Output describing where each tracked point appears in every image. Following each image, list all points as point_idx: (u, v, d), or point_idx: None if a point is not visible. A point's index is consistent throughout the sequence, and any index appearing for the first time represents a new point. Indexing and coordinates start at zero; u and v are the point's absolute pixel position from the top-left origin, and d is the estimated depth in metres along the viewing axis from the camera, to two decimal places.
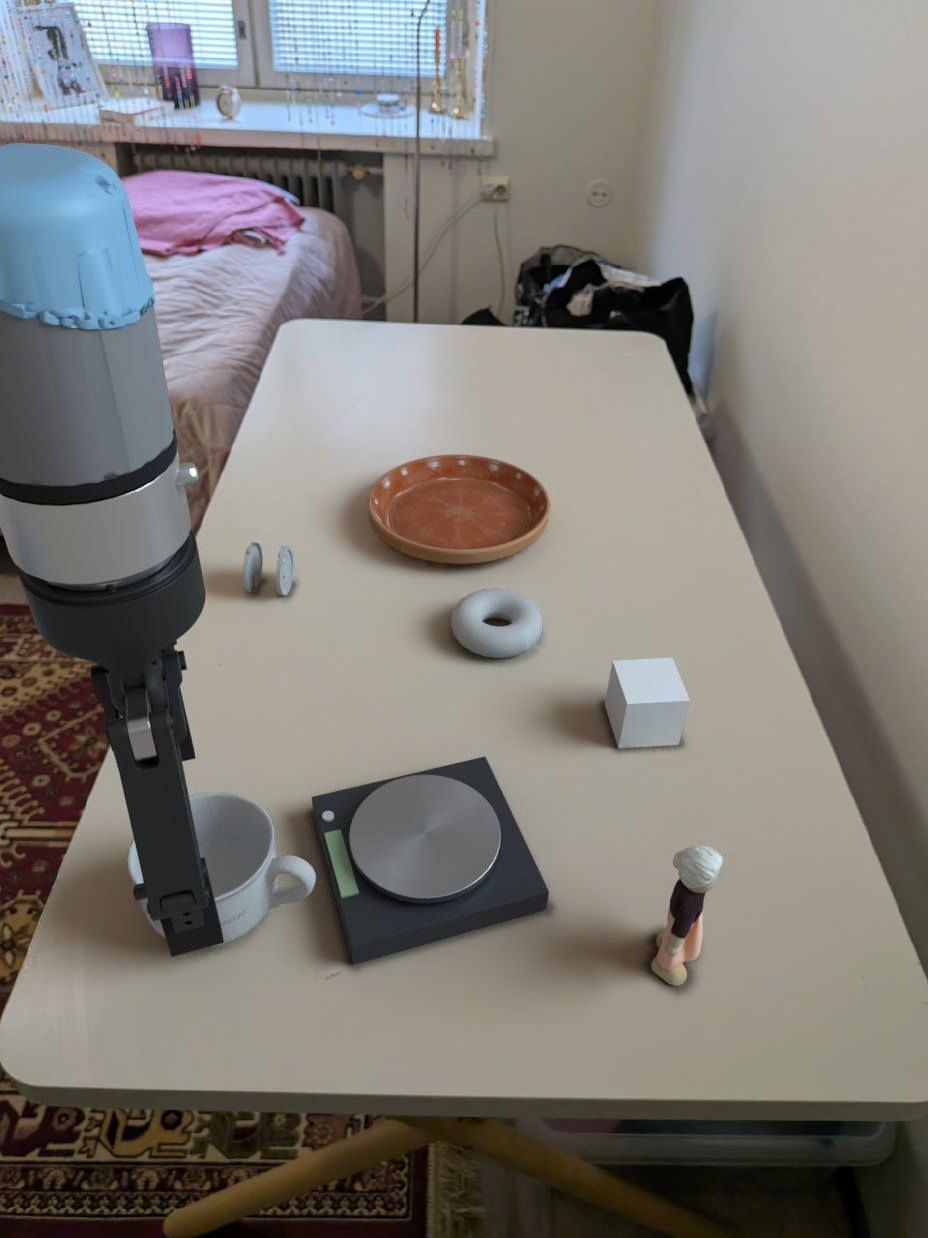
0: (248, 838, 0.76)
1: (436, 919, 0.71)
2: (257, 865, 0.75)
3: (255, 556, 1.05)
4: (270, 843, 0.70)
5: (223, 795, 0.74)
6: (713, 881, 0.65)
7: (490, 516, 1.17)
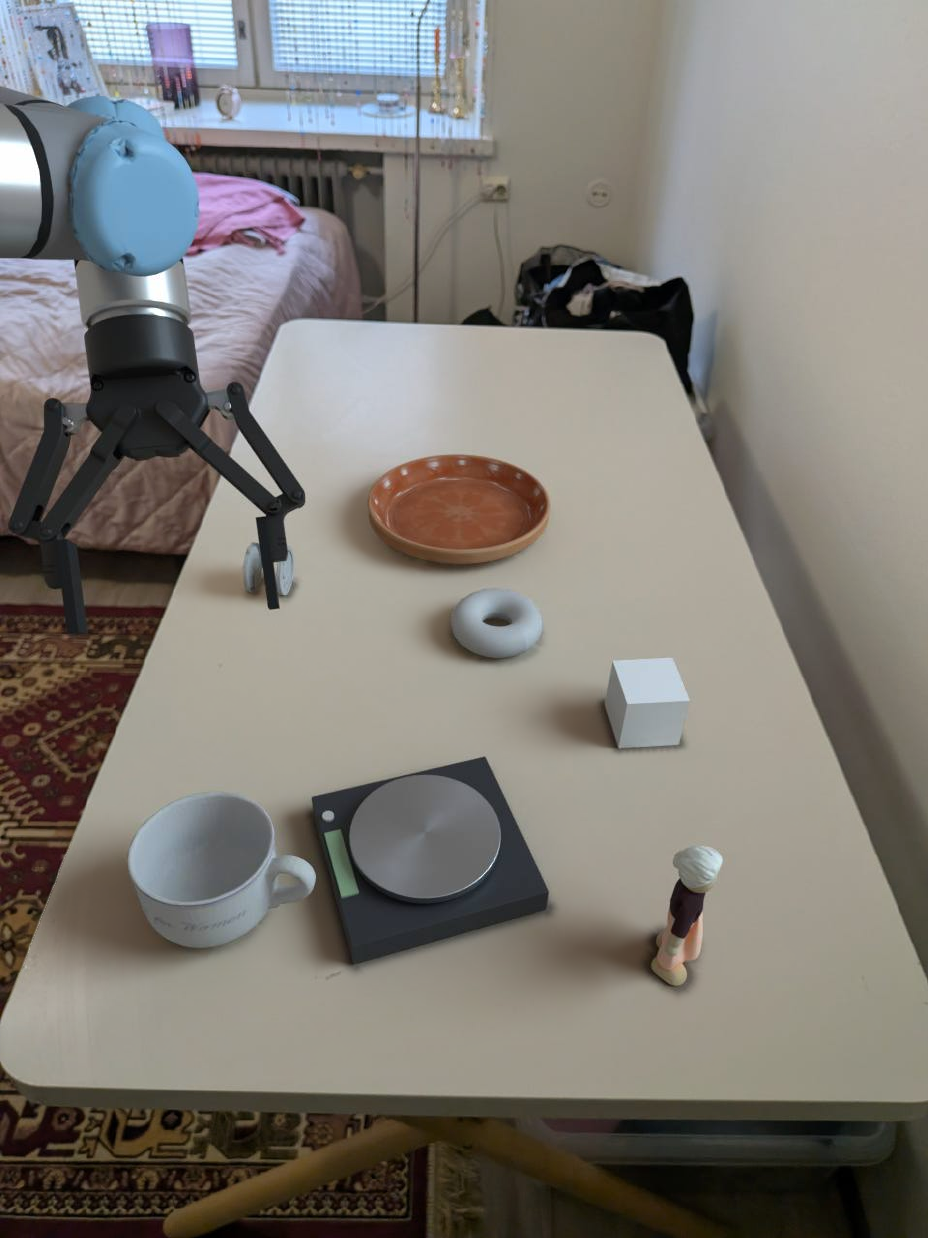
0: (248, 838, 0.76)
1: (436, 919, 0.71)
2: (257, 865, 0.75)
3: (255, 556, 1.05)
4: (270, 843, 0.70)
5: (223, 795, 0.74)
6: (713, 881, 0.65)
7: (490, 516, 1.17)
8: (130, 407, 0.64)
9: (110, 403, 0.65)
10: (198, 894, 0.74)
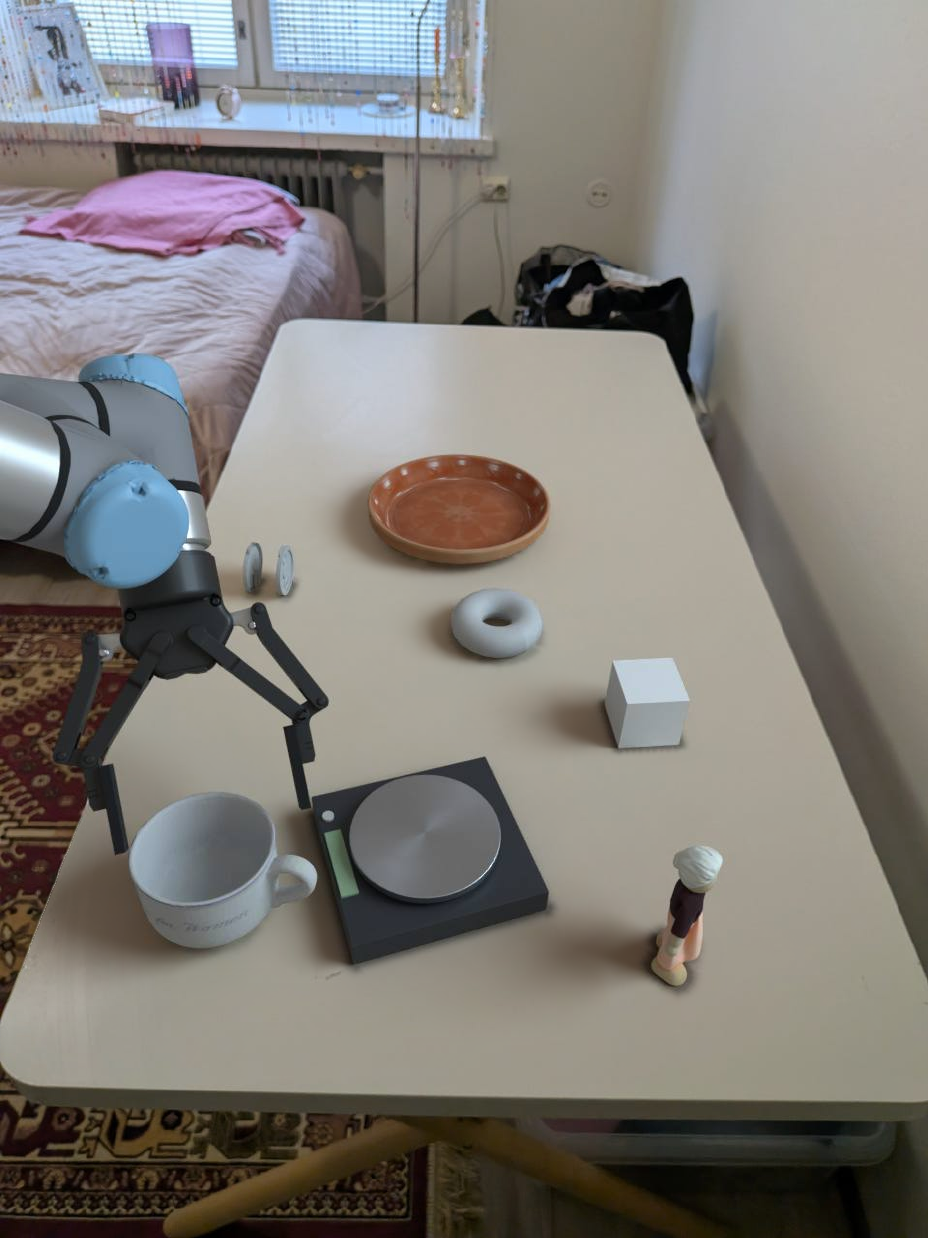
0: (248, 838, 0.76)
1: (436, 919, 0.71)
2: (257, 865, 0.75)
3: (255, 556, 1.05)
4: (271, 843, 0.70)
5: (223, 795, 0.74)
6: (713, 882, 0.65)
7: (490, 516, 1.17)
8: (164, 636, 0.69)
9: (143, 632, 0.70)
10: (199, 894, 0.74)
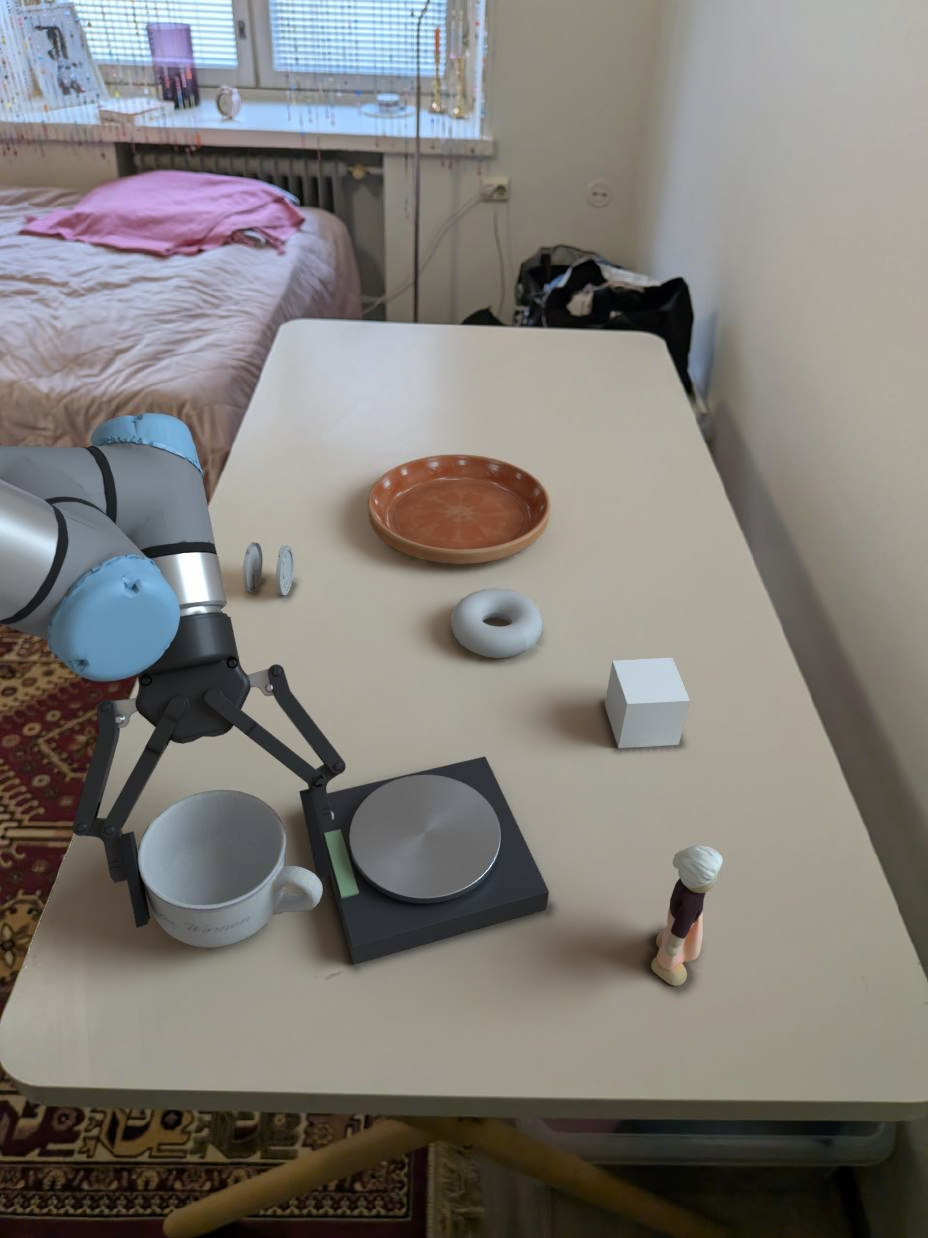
0: (260, 838, 0.75)
1: (436, 919, 0.71)
2: (266, 866, 0.75)
3: (255, 556, 1.05)
4: (281, 852, 0.69)
5: (239, 795, 0.73)
6: (713, 881, 0.65)
7: (490, 516, 1.17)
8: (180, 701, 0.68)
9: (159, 697, 0.68)
10: (204, 889, 0.74)
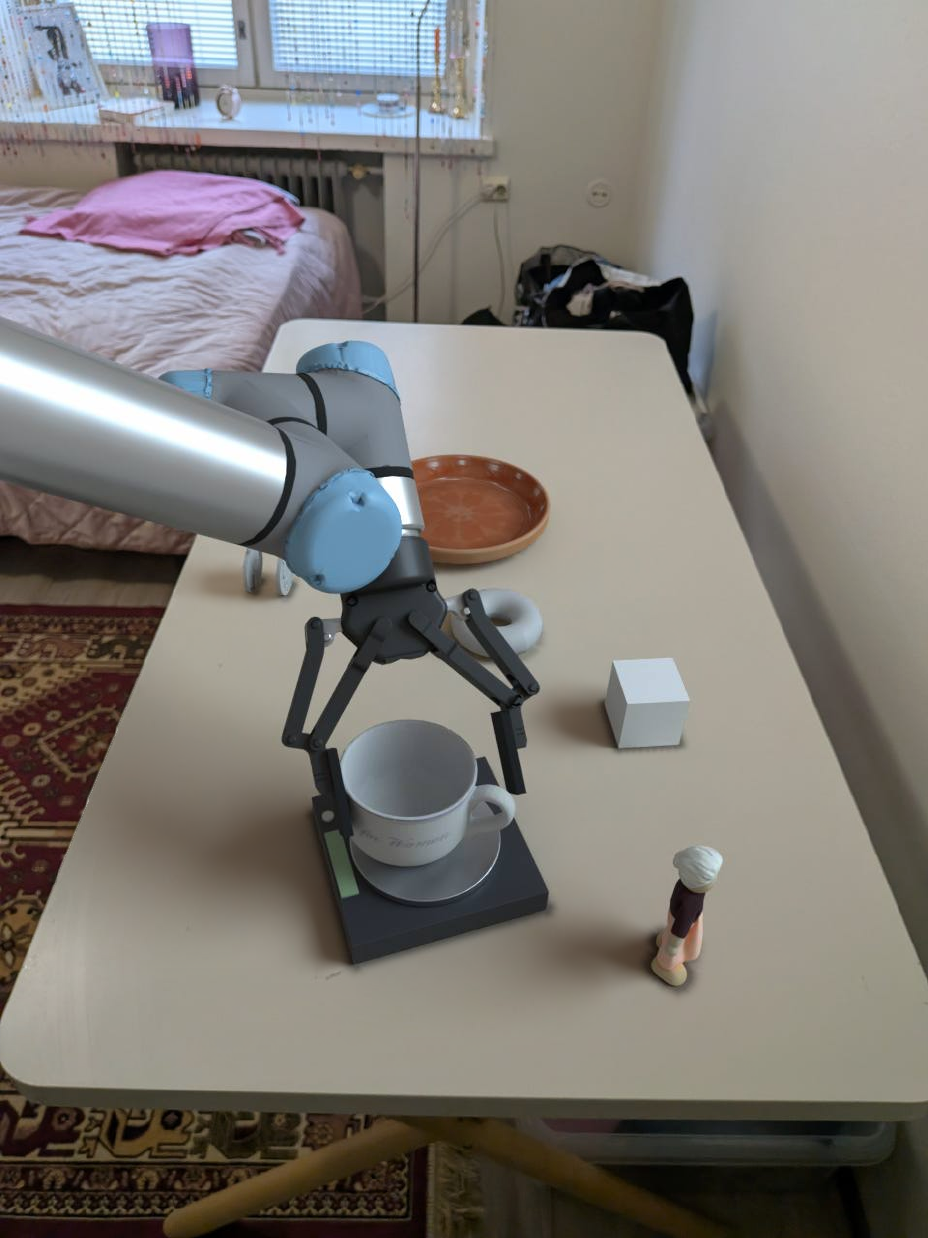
0: (441, 769, 0.77)
1: (436, 919, 0.71)
2: (447, 796, 0.77)
3: (255, 556, 1.05)
4: (474, 772, 0.72)
5: (424, 724, 0.76)
6: (713, 881, 0.65)
7: (490, 516, 1.17)
8: (387, 621, 0.70)
9: (365, 617, 0.70)
10: None
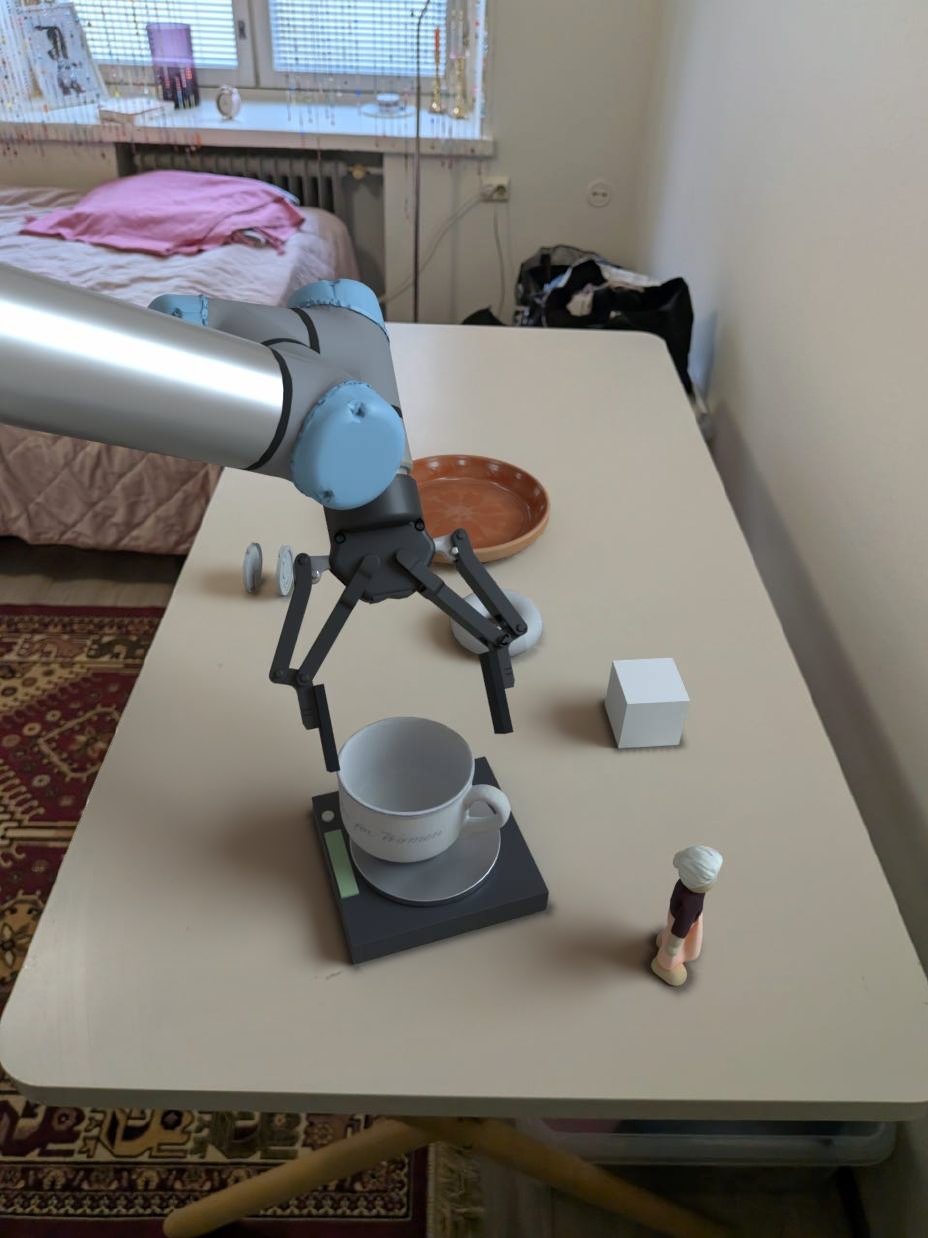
0: (442, 768, 0.78)
1: (436, 919, 0.71)
2: (447, 796, 0.77)
3: (255, 556, 1.05)
4: (470, 771, 0.71)
5: (426, 722, 0.76)
6: (713, 882, 0.65)
7: (490, 516, 1.17)
8: (374, 558, 0.70)
9: (352, 554, 0.70)
10: None
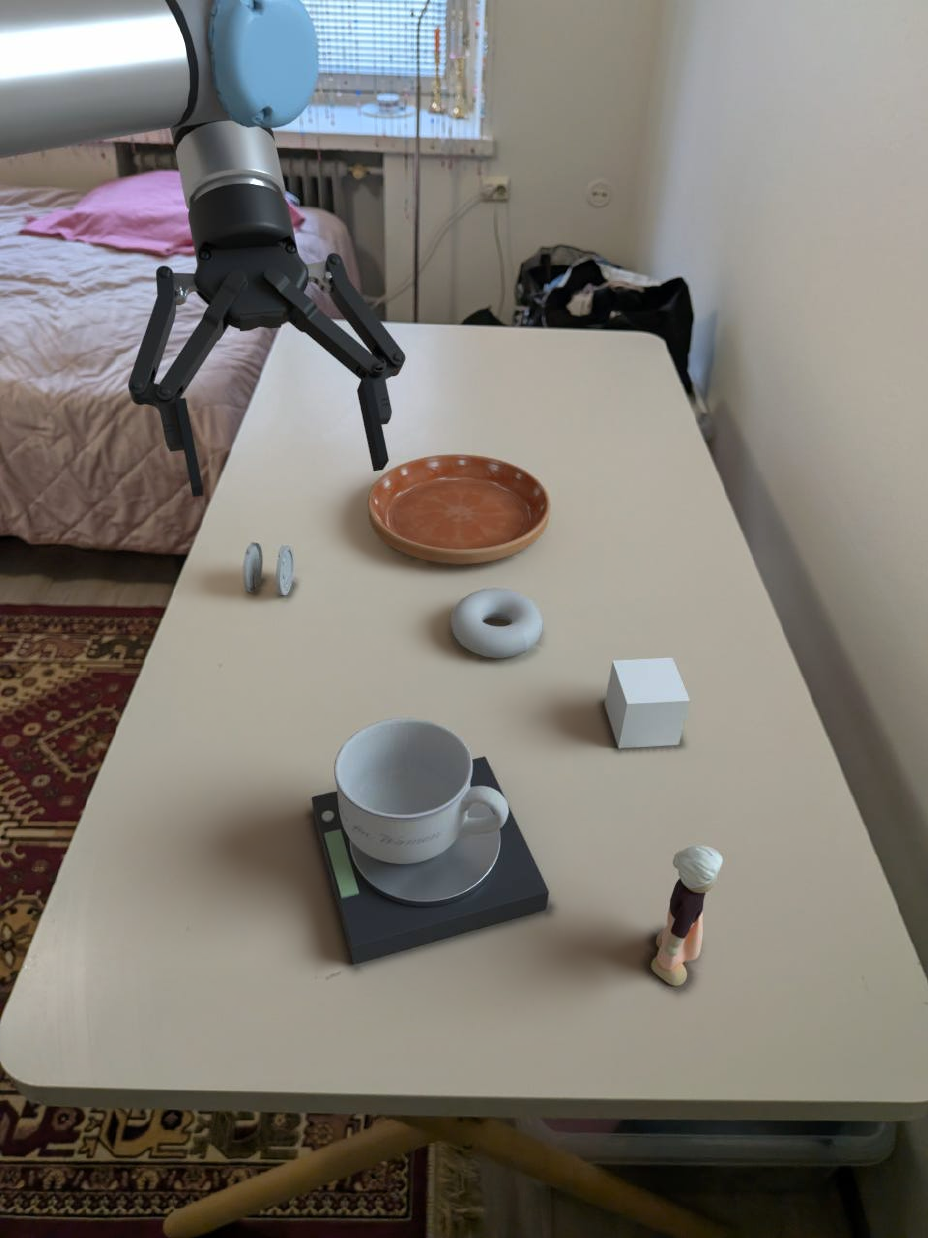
0: (441, 769, 0.78)
1: (436, 919, 0.71)
2: (447, 796, 0.77)
3: (255, 556, 1.05)
4: (468, 772, 0.71)
5: (424, 723, 0.76)
6: (713, 881, 0.65)
7: (490, 516, 1.17)
8: (240, 273, 0.67)
9: (218, 271, 0.68)
10: None
